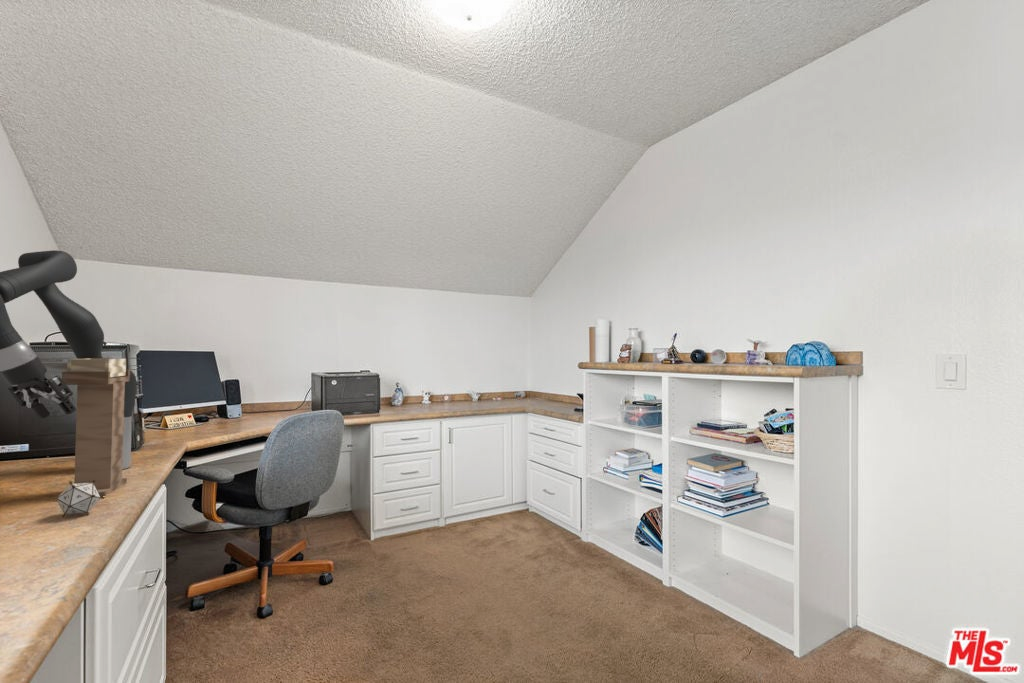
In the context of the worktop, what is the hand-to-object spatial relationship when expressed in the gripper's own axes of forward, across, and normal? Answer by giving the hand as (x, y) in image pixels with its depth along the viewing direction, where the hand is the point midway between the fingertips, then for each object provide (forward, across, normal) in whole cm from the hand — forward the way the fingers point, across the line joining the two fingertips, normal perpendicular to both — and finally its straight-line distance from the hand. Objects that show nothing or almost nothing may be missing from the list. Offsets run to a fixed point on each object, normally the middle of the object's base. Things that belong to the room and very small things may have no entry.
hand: (58, 414), depth 126 cm
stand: (+24, +4, +2) cm, 25 cm away
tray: (-5, +3, -12) cm, 13 cm away
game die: (+19, -11, +18) cm, 28 cm away
